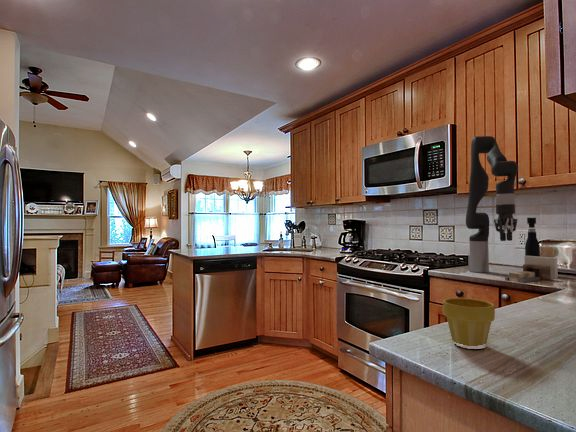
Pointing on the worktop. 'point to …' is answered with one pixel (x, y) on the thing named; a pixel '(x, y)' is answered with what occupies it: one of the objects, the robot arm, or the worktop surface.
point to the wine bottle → (532, 240)
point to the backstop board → (544, 263)
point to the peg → (520, 275)
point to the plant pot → (469, 320)
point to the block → (538, 270)
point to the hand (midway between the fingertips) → (506, 240)
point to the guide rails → (526, 279)
